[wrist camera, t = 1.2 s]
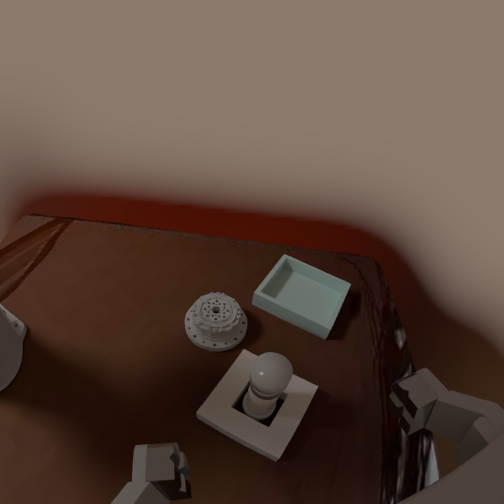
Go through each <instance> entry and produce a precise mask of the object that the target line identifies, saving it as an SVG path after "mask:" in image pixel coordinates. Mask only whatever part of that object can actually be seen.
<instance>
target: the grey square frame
mask: <svg viewBox="0 0 504 504" xmlns="http://www.w3.org/2000/svg"><path fill="white" fill-rule="evenodd" d="M257 357H258V356H256V355H254V354H252V353H251V352H249V351H247V350H245V349H244V350H243V351H242V352H241V354H240V355H239V356H238V358H237V359H236V361H235V362H234V363H233V365H232V366H231V367H230V369H229V370H228V371H227V373H226V374H225V375H224V377H223V378H222V379H221V381H220V382H219V383H218V385H217V386H216V387H215V389H214V390H213V391H212V393H211V394H210V395H209V397H208V398H207V399H206V401H205V402H204V403H203V405H202V406H201V407H200V408H199V410H198V411H197V412H196V414H197V418H198V419H199V420H201V421H203V422H204V423H206V424H208V425H209V426H211V427H213V428H214V429H216V430H218V431H219V432H221V433H223V434H224V435H226V436H228V437H230V438H232V439H233V440H235V441H237V442H239V443H241V444H242V445H244V446H246V447H248V448H250V449H252V450H254V451H256V452H258V453H260V454H262V455H264V456H266V457H268V458H270V459H272V460H274V461H277V460H278V459H279V458H280V457H281V455H282V453H283V452H284V450H285V448H286V446H287V445H288V443H289V441H290V439H291V438H292V436H293V434H294V432H295V430H296V429H297V427H298V425H299V423H300V421H301V419H302V417H303V415H304V414H305V412H306V410H307V408H308V406H309V404H310V402H311V400H312V398H313V396H314V394H315V392H316V390H317V388H318V386H316V385H314V384H312V383H310V382H308V381H306V380H304V379H302V378H299V377H297V376H295V375H292V378H291V380H290V382H289V384H288V386H287V387H286V389H285V390H284V391H283V392H281V394H280V395H279V397H278V398H280V399H282V400H284V403H283V405H282V406H281V408H280V410H279V411H278V413H277V415H276V416H275V418H274V420H273V421H272V423H271V425H270V426H269V427H267V426H265V425H263V424H261V423H259V422H257V421H256V420H254V419H252V418H250V417H248V416H246V415H244V414H243V413H241V412H239V411H237V410H235V409H234V406H235V405H236V403H237V402H238V400H239V399H240V398H241V396H242V395H243V393H244V392H245V390H246V389H247V387H248V386H249V384H250V372H251V368H252V364H253V362H254V360H255V359H256V358H257Z"/></svg>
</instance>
